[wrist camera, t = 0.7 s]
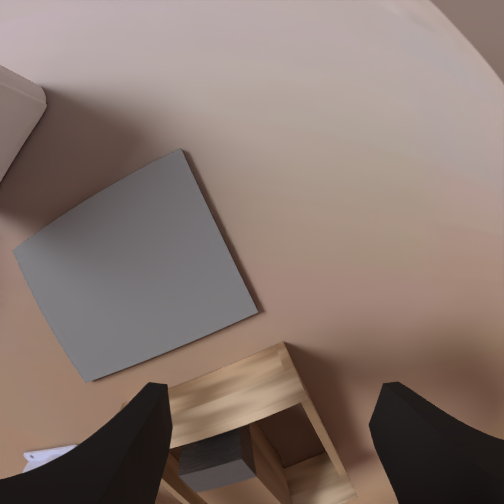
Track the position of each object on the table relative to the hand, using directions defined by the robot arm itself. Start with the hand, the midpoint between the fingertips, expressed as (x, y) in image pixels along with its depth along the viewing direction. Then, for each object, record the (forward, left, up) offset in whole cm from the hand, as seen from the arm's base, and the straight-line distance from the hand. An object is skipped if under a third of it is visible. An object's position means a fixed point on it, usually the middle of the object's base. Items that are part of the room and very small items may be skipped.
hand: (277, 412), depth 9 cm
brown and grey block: (-6, -10, -11) cm, 16 cm away
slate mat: (-7, +5, -11) cm, 14 cm away
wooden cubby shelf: (-6, -10, -11) cm, 16 cm away
